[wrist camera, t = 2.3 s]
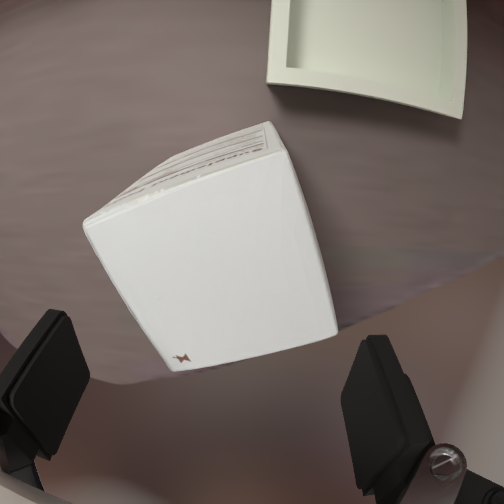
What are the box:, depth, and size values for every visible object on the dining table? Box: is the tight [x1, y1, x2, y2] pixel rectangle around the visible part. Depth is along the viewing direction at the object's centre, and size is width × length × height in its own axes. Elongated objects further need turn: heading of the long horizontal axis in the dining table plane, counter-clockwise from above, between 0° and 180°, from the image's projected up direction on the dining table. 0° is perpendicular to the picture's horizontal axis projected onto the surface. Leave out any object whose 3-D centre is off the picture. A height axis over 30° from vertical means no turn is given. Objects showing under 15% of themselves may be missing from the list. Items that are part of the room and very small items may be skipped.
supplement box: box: [83, 121, 338, 372], centre depth 16 cm, size 7×7×13 cm
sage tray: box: [266, 0, 467, 119], centre depth 14 cm, size 13×13×2 cm
